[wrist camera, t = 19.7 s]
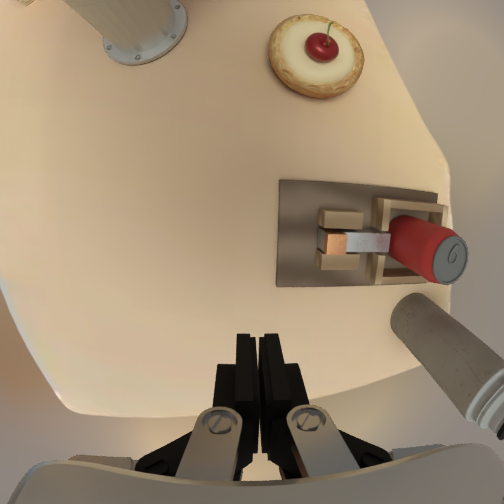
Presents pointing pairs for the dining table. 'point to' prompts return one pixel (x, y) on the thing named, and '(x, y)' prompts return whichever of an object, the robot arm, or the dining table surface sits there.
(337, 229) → the copper-tipped grey bar
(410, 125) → the dining table surface
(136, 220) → the dining table surface
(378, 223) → the dock
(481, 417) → the thermos bottle
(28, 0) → the coffeecake box
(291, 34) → the pastry
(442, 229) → the beer can
